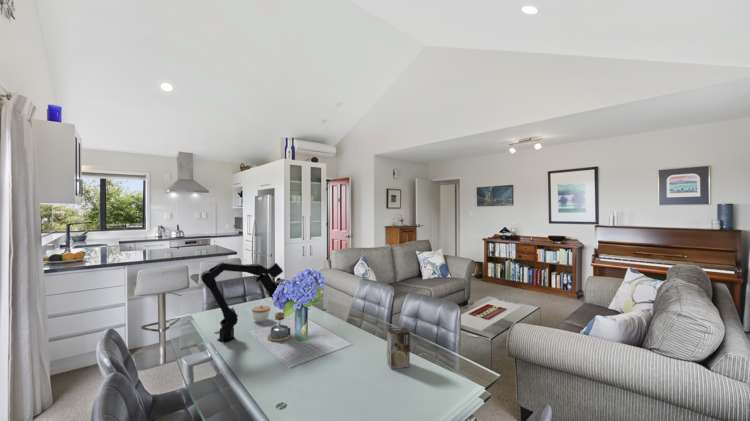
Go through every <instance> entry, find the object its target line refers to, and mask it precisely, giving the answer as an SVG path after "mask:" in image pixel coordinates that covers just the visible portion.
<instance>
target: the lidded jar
mask: <svg viewBox="0 0 750 421" xmlns="http://www.w3.org/2000/svg"><path fill="white" fill-rule="evenodd" d="M270 313H271V307H270V306H269V305H258V306H254V307H252V309H251V315H252V319H253V320H254V321H255V323H264V322H267V320H268V319H269V316H270Z"/></svg>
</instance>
